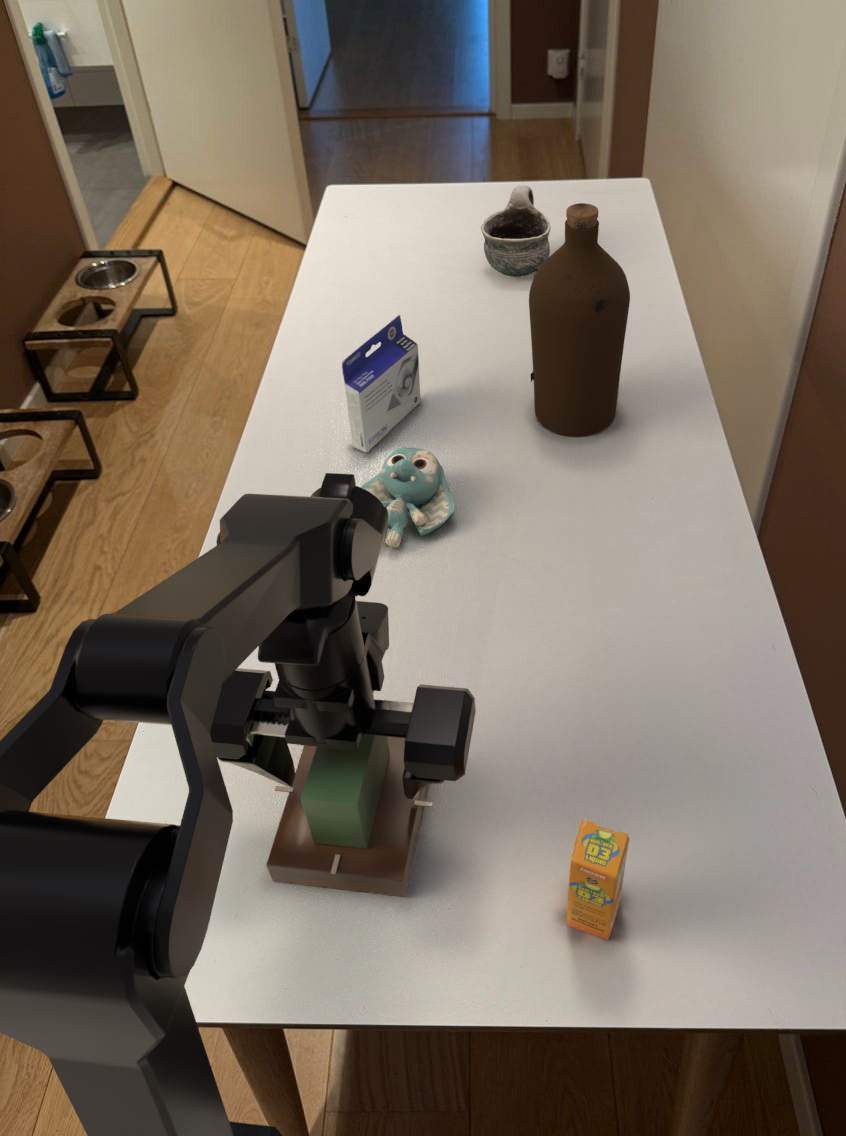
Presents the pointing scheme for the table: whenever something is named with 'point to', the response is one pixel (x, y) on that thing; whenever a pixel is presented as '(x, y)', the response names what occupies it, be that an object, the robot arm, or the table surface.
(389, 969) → the table surface
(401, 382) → the ink box
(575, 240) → the olive oil
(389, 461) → the stuffed animal
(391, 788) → the brown rectangular platform
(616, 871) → the supplement box
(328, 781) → the green box
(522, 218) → the mug
